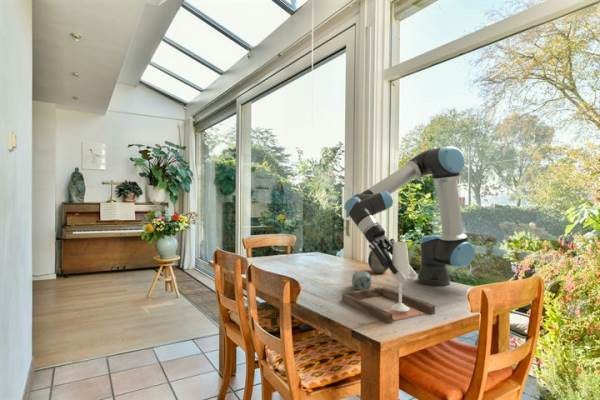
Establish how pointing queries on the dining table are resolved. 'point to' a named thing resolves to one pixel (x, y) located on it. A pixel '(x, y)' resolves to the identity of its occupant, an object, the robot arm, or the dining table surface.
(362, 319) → the dining table surface
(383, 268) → the decorative egg
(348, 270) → the dining table surface
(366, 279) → the mottled grey rounded block
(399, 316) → the front tile
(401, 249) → the champagne flute
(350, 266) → the dining table surface
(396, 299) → the bay
